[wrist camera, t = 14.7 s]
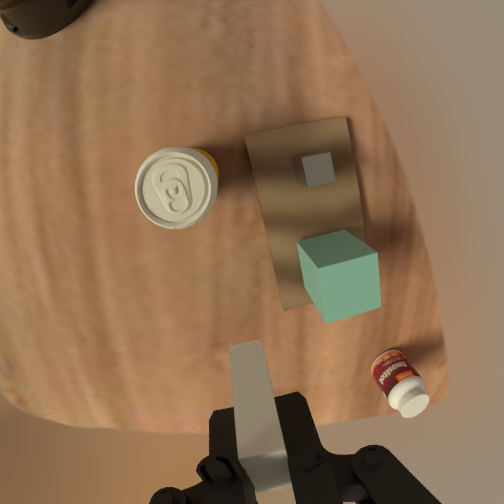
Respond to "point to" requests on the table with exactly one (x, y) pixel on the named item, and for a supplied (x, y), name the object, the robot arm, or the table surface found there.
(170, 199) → the beer can
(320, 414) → the table surface
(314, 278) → the mint green toy brick
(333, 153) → the board
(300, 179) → the short post
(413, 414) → the pill bottle
